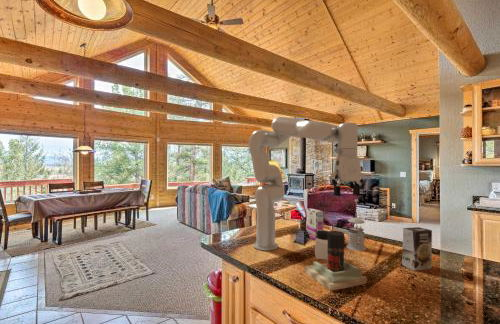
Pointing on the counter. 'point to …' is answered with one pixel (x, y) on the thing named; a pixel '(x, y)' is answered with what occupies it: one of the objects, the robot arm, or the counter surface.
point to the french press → (356, 234)
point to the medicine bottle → (321, 244)
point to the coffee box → (417, 248)
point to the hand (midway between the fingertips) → (346, 195)
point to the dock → (336, 276)
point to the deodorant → (335, 251)
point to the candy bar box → (314, 222)
